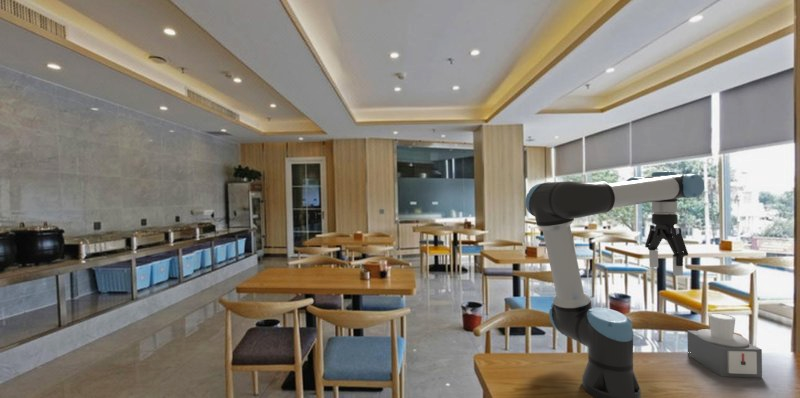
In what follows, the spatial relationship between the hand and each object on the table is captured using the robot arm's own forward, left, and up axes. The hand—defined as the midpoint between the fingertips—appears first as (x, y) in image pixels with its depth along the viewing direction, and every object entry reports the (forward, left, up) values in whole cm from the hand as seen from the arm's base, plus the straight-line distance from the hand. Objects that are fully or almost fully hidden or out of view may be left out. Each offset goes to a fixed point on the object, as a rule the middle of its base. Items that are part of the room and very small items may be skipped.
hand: (665, 270), depth 128 cm
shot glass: (+13, -8, -21) cm, 26 cm away
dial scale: (+13, -8, -31) cm, 34 cm away
